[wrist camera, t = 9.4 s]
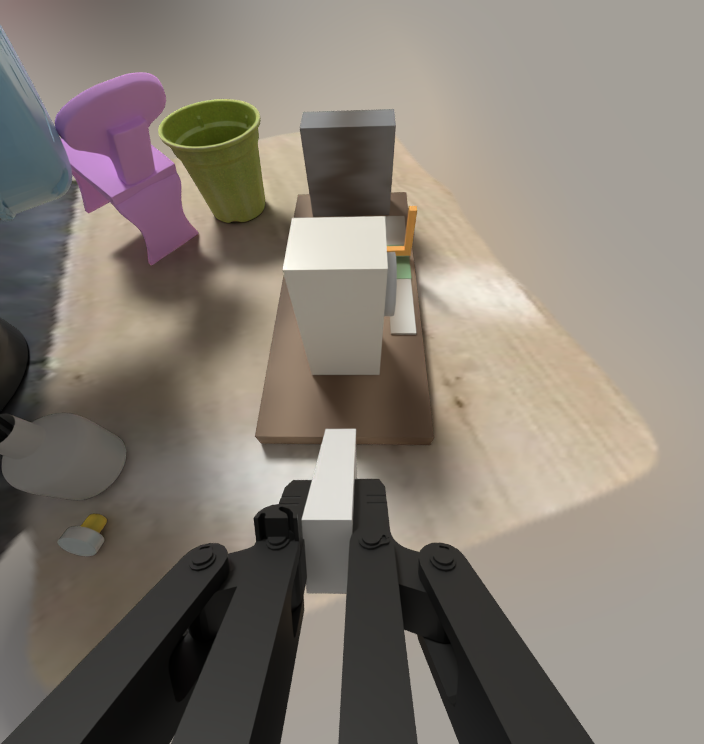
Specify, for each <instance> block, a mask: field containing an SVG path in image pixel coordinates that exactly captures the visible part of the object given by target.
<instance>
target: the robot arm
mask: <svg viewBox="0 0 704 744" xmlns="http://www.w3.org/2000/svg"><path fill="white" fill-rule="evenodd" d="M71 182H72V170H71V165H70V161H69V158H68V156H67V153H66V150H65V148H64V146H63V143H62V141H61V139H60V137H59V135H58V133H57V131H56V129H55V126H54V124H53V122H52V120H51V118H50V116H49V114H48V112H47V110H46V108H45V106H44V104H43V102H42V100H41V98H40V96H39V94H38V93H37V91H36V89H35V87H34V85H33V83H32V81H31V79H30V77H29V76H28V74H27V72H26V70H25V68H24V66H23V64H22V63H21V61H20V59H19V57H18V55H17V54H16V52H15V50H14V48H13V46H12V44H11V42H10V41H9V39H8V37H7V35H6V34H5V32H4V30H3V28H2V26H1V25H0V220H1V219H2V220H4V221H10V220H13V218H15V217H16V214H17V213H20V212H23V211H25V210H28V209H31V208H33V207H36V206H39V205H42V204H44V203H47V202H50V201H52V200H55V199H58V198H60V197H61V196H63V195H64V194H65V193H66V192H67V191H68V190H69V187H70V185H71ZM27 359H28V348H27V344H26V341H25V339H24V337H23V335H22V334H21V332H20V331H19V330H18V329H16V328H15V327H14V326H12V325H11V324H9V323H8V322H6V321H5V320H3V319H2V318H0V412H1V410H2V409H3V408H4V407H5V405H6V404H7V403H8V401H9V400H10V399H11V397H12V396H13V394H14V393H15V391H16V389H17V388H18V386H19V384H20V382H21V380H22V377H23V375H24V372H25V369H26V365H27ZM254 526H255V535H256V543H255V545H254V546H252V547H250V548H248V549H245V550H242V551H238V552H234V553H229V554H228V552H227V550H226V548H225V547H224V546H223V545H220V544H218V543H208V544H204V545H200V546H198V547H196V548H194V549H192V550H191V551H190V552H188V553H187V554H186V555H185V556H183V557H182V558H181V560H180V561H179V562H178V563H177V564H176V565H175V566H174V567H173V568H172V569H171V570H170V571H169V572H168V573H167V574H166V575H165V576H164V577H163V578H162V579H161V580H160V581H159V582H158V583H157V584H156V585H155V586H154V587H153V588H152V589H151V590H150V591H149V592H148V593H147V594H146V595H145V596H144V598H143V599H142V600H141V601H140V602H139V603H138V604H137V605H136V606H135V607H134V608H133V609H132V610H131V611H130V612H129V613H128V614H127V615H126V616H125V617H124V618H123V619H122V620H121V621H120V622H119V623H118V624H117V625H116V626H115V627H114V628H113V629H112V630H111V631H110V632H109V633H108V635H107V636H106V637H105V638H104V639H103V640H102V641H101V642H100V643H99V644H98V645H97V646H96V647H95V648H94V649H93V650H92V651H91V652H90V653H89V654H88V655H87V656H86V657H85V658H84V659H83V660H82V661H81V662H80V663H79V664H78V665H77V666H76V667H75V668H74V669H73V670H72V672H71V673H70V674H69V675H68V676H67V677H66V678H65V679H64V680H63V681H62V682H61V683H60V684H59V685H58V686H57V687H56V688H55V689H54V690H53V691H52V692H51V693H50V694H49V695H48V696H47V697H46V698H45V699H44V700H43V701H42V702H41V703H40V705H38V706H37V707H36V709H35V710H34V711H33V712H32V713H31V714H30V715H29V716H28V717H27V718H26V719H25V720H24V721H23V722H22V723H21V724H20V725H19V726H18V727H17V728H16V729H15V730H14V731H13V732H12V733H11V734H10V735H9V736H8V737H7V738H6V739H5V740H4V741H3V742H2V744H169V743H170V742H171V740H172V738H173V737H174V738H173V741H172V743H171V744H280V742H281V737H282V731H283V725H284V720H285V714H286V709H287V703H288V698H289V692H290V687H291V681H292V675H293V670H294V664H295V658H296V653H297V647H298V641H299V636H300V630H301V625H302V619H303V614H304V596H303V595H304V590H305V585H306V589H307V593H333V594H347V596H346V615H345V633H344V651H343V669H342V670H343V671H342V688H341V707H340V725H339V744H418V743H417V734H416V726H415V718H414V709H413V701H412V693H411V686H410V677H409V668H408V660H407V652H406V643H405V635H404V630H407V631H410V632H412V633H415V634H417V636H418V640H419V643H420V645H421V648H422V650H423V653H424V655H425V658H426V660H427V663H428V665H429V668H430V671H431V673H432V676H433V678H434V681H435V683H436V686H437V688H438V691H439V693H440V696H441V699H442V701H443V704H444V706H445V709H446V711H447V714H448V716H449V719H450V721H451V724H452V727H453V729H454V732H455V734H456V737H457V739H458V742H459V744H594V742H593V741H592V739H591V738H590V736H589V735H588V734H587V732H586V731H585V729H584V728H583V726H582V725H581V723H580V722H579V721H578V719H577V718H576V716H575V715H574V714H573V712H572V710H571V709H570V708H569V706H568V705H567V703H566V702H565V700H564V699H563V697H562V696H561V695H560V693H559V692H558V690H557V689H556V687H555V686H554V685H553V683H552V682H551V681H550V679H549V677H548V676H547V674H546V673H545V672H544V670H543V669H542V667H541V666H540V664H539V663H538V661H537V660H536V659H535V657H534V656H533V654H532V653H531V651H530V650H529V648H528V647H527V646H526V644H525V643H524V641H523V640H522V638H521V637H520V636H519V634H518V633H517V631H516V630H515V628H514V627H513V626H512V624H511V622H510V621H509V620H508V618H507V617H506V615H505V614H504V613H503V611H502V609H501V608H500V607H499V605H498V604H497V602H496V601H495V599H494V598H493V597H492V595H491V594H490V593H489V591H488V589H487V588H486V587H485V585H484V584H483V582H482V581H481V579H480V578H479V576H478V575H477V573H476V572H475V571H474V569H473V568H472V566H471V565H470V563H469V562H468V560H467V559H466V558H465V556H464V555H463V554H462V553H461V552H460V551H459V550H458V549H456V548H454V547H453V546H451V545H448V544H444V543H431V544H428V545H426V546H424V547H423V548H422V549H421V550H420V552H417V551H414V550H410V549H407V548H405V547H403V546H401V545H400V544H398V543H397V542H396V541H395V540H394V539H393V537H392V535H391V532H390V526H389V517H388V508H387V500H386V491H385V486H384V485H383V483H382V482H381V481H380V480H379V479H357V460H356V429H326V430H325V433H324V437H323V441H322V445H321V448H320V452H319V456H318V460H317V464H316V467H315V471H314V475H313V479H312V480H293V481H292V482H291V483H289V484H288V485H287V486H286V487H285V489H284V492H283V494H282V498H281V499H280V502H279V504H276V505H271V506H268V507H266V508H264V509H262V510H261V511H259V512H258V513H257V514H256V516H255V517H254ZM174 735H175V736H174Z"/></svg>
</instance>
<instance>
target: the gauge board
mask: <svg viewBox="0 0 704 744" xmlns="http://www.w3.org/2000/svg"><path fill="white" fill-rule="evenodd" d="M395 128H396V123H395V114H394V109H387V110H354V111H323V112H303V115H302V120H301V125H300V134H301V140H302V147H303V154H304V160H305V167H306V174H307V180H308V187H309V194H306V195H298V197H297V203H296V208H295V214H294V218H322V217H374V216H385V226H386V245H387V246H404V243H405V235H406V227H407V219H408V204H407V195H406V192H397V193H391V185H392V171H393V157H394V143H395ZM396 264H397V290H396V305H395V313H394V316H384V323H383V336H382V348H381V361H380V373H379V375H312V373H311V370H310V366H309V362H308V359H307V355H306V352H305V348H304V345H303V341H302V338H301V334H300V330H299V327H298V323H297V320H296V316H295V313H294V309H293V305H292V302H291V298H290V295H289V291H288V288H287V284H286V280H285V277H284V276H283V281H282V287H281V293H280V298H279V304H278V310H277V315H276V321H275V326H274V332H273V338H272V343H271V349H270V355H269V360H268V366H267V371H266V377H265V383H264V388H263V394H262V400H261V405H260V411H259V416H258V422H257V428H256V433H255V437H256V438H257V439H258V440H259V442H260V443H271V444H322V441H323V437H324V433H325V430H326V429H356V444H397V445H430V444H431V442H432V440H433V439H434V433H433V424H432V415H431V406H430V397H429V389H428V380H427V371H426V362H425V354H424V345H423V336H422V327H421V318H420V310H419V301H418V292H417V283H416V274H415V266H414V257H413V248H411V255H410V256H396Z"/></svg>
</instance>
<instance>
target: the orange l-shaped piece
mask: <svg viewBox="0 0 704 744" xmlns="http://www.w3.org/2000/svg"><path fill="white" fill-rule="evenodd" d="M416 215H417V206H409V211H408V219H407V227H406V235H405V243H404V246H387V252H395V254H396V256H410V255H411V248H412V242H413V235H414V228H415V222H416Z"/></svg>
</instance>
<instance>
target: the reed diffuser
mask: <svg viewBox="0 0 704 744" xmlns="http://www.w3.org/2000/svg"><path fill="white" fill-rule="evenodd" d="M0 454H1V455H3V458H2V473H3V476H4V478H5V479H6V481H7V482H8V483H9V484H11V485H12V486H13V487H15V488H17V489H19V490H22V491H25V492H28V493H32V494H37V495H43V496H49V497H55V498H62V499H70V500H85V499H88V498H91V497H94V496H96V495H98V494H100V493H101V492H103V491H104V490H106V489H107V488H108V487H109V486H110V485H111V484H112V483H113V482H114V481H115V480H116V479H117V477H118V476H119V474H120V473H121V471H122V469H123V467H124V464H125V460H126V447H125V445H124V443H123V441H122V440H121V439H120V438H119V437H117V436H116V435H114V434H113V433H111V432H109V431H108V430H106V429H104V428H103V427H101V426H99V425H98V424H96V423H94V422H92V421H91V420H89V419H87V418H84V417H82V416H79V415H76V414H71V413H55V414H51V415H47V416H44V417H41V418H39V419H37V420H35V421H33V422H28V421H26V420H23V419H20V418H18V417H15V416H13V415H10V414H0ZM106 523H107V519H106V518H105V517H104V516H102V515H100V514H91V515H89V516H88V517H87V518H86V520H85V521H84V522H83V524H82V525H81V526H72V527H69V528H68V529H67V530H66V531H65V532H64V534H63V535H62V536H61V537H60V539H59V540H58V545H59V546H60V547H61V548H62V549H64V550H65V551H67V552H70V553H72V554H76V555H80V556H93V555H95V554H96V553H97V551H98V550H99V548H100V547H101V545H102V544H103V542H104V538H103V536H102V535H101V534H99V533H100V532H101V530H102V529H103V527H104V526H105V524H106Z"/></svg>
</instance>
